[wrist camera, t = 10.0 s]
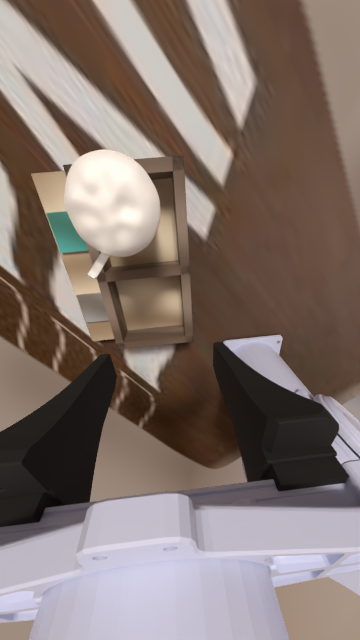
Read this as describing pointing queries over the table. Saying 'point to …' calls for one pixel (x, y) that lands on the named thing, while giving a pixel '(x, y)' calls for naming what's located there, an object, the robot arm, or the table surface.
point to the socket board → (130, 266)
